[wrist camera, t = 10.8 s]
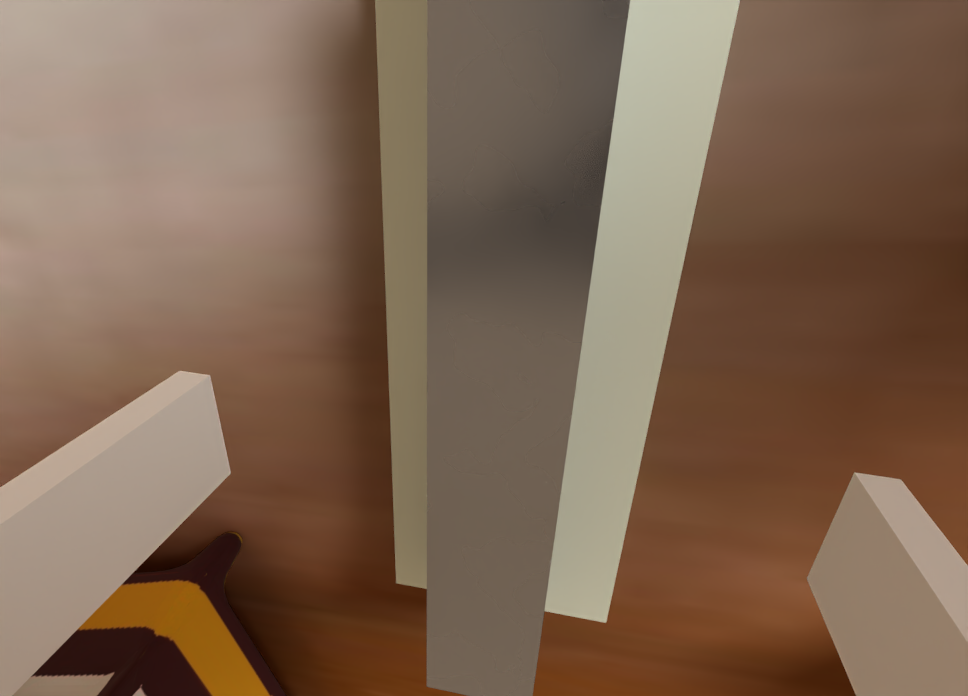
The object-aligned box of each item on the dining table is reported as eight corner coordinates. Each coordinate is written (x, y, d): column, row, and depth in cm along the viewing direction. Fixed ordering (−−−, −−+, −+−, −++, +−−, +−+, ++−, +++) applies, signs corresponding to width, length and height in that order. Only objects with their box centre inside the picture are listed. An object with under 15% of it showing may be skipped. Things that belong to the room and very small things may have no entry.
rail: (480, -143, 13) (427, -264, 9) (640, -145, 13) (669, -276, 8) (456, 580, 25) (426, 686, 20) (541, 596, 24) (530, 709, 20)
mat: (381, -178, 14) (367, -197, 13) (771, -188, 13) (784, -209, 12) (402, 566, 26) (395, 583, 25) (605, 604, 25) (606, 622, 24)
